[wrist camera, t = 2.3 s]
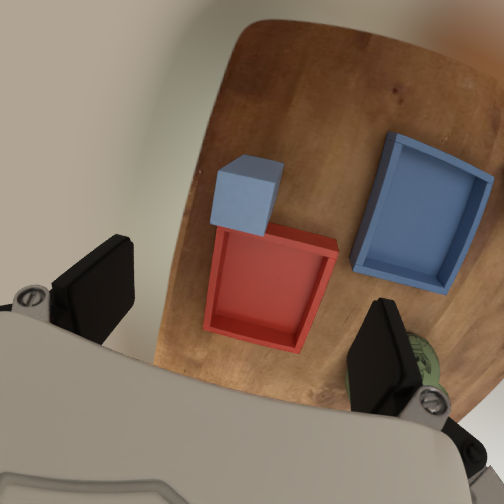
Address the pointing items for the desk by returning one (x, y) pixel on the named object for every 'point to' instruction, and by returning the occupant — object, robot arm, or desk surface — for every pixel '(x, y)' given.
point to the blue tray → (419, 216)
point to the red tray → (268, 285)
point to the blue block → (246, 194)
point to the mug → (420, 363)
